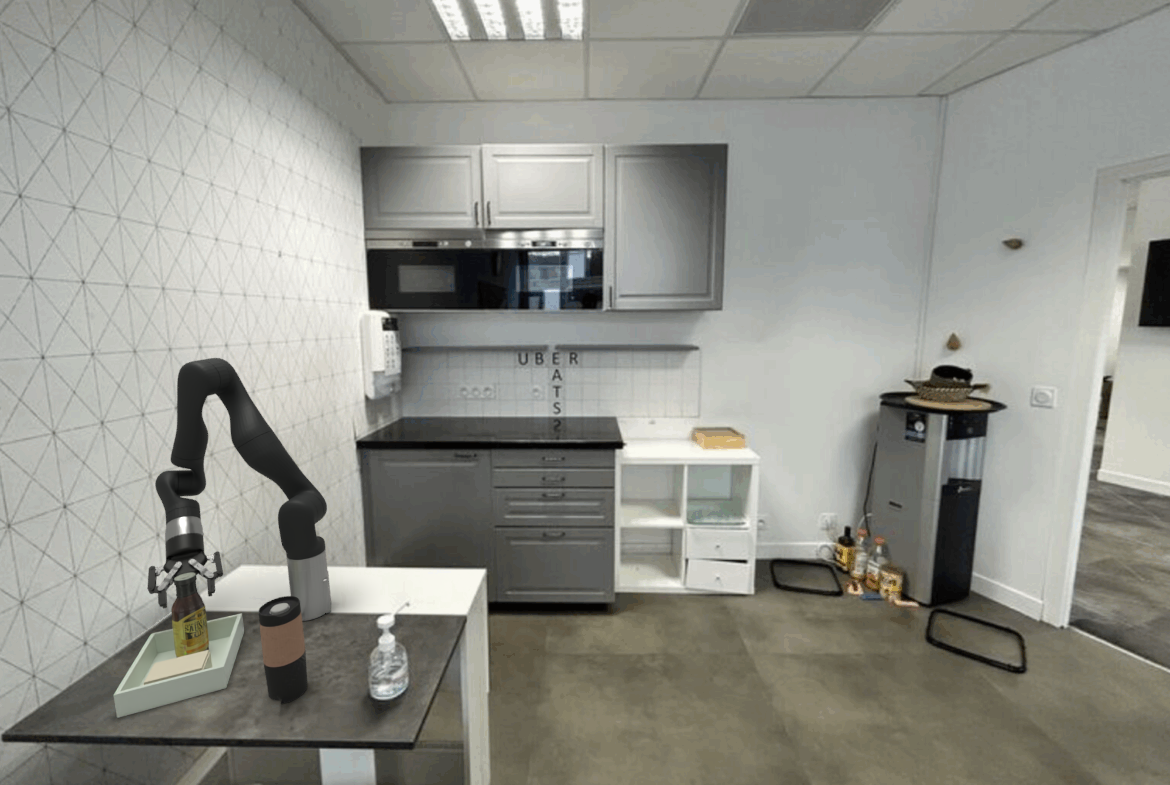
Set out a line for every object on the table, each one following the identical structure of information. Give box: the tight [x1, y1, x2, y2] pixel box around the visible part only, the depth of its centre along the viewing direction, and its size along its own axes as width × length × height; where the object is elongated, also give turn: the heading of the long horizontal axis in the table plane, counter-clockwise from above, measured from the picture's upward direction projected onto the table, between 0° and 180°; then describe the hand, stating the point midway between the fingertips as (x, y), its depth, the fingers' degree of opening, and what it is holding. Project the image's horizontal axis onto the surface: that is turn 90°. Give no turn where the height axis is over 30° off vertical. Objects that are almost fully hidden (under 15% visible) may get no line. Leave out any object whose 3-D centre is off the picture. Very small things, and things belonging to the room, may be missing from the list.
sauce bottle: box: [171, 573, 209, 658], centre depth 116 cm, size 7×6×20 cm
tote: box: [113, 612, 245, 719], centre depth 112 cm, size 18×22×6 cm
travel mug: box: [258, 595, 308, 705], centre depth 105 cm, size 8×8×20 cm
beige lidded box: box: [143, 650, 212, 685], centre depth 107 cm, size 10×7×5 cm
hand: (188, 601), depth 118 cm, fingers open, 8 cm apart
